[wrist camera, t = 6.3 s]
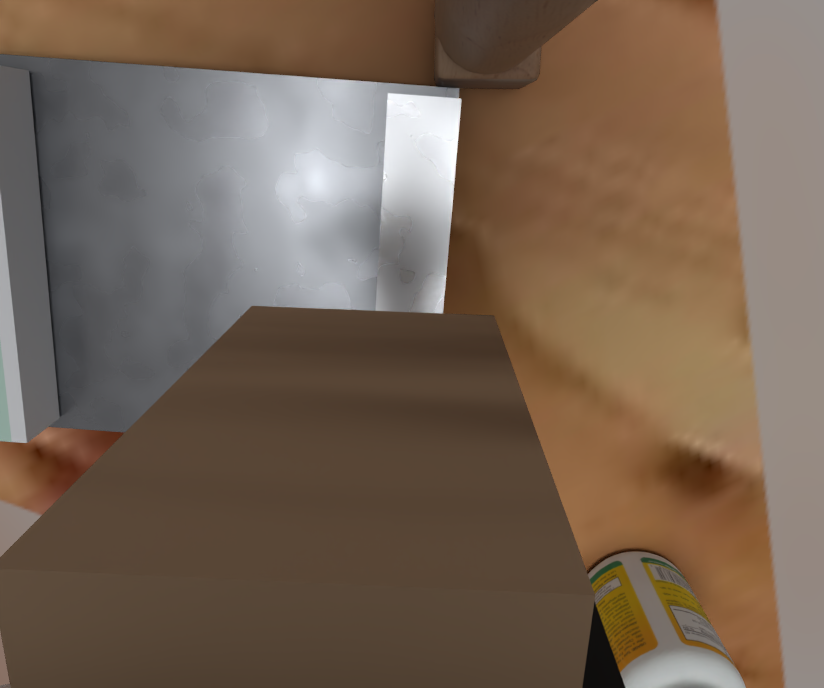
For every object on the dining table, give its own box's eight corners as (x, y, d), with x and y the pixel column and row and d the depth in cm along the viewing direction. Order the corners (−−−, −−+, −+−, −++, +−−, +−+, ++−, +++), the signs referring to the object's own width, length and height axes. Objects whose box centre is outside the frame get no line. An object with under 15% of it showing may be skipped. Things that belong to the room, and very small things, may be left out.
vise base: (-77, 51, 26) (-162, 36, 23) (457, 91, 26) (462, 82, 23) (-31, 406, 31) (-96, 443, 27) (427, 439, 31) (428, 482, 27)
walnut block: (252, 305, 11) (-10, 567, 4) (493, 315, 11) (595, 596, 4) (265, 691, 14) (109, 1234, 7) (465, 700, 14) (501, 1256, 7)
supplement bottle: (682, 540, 32) (785, 700, 23) (687, 632, 34) (786, 818, 24) (568, 555, 32) (625, 719, 23) (579, 646, 34) (637, 833, 25)
